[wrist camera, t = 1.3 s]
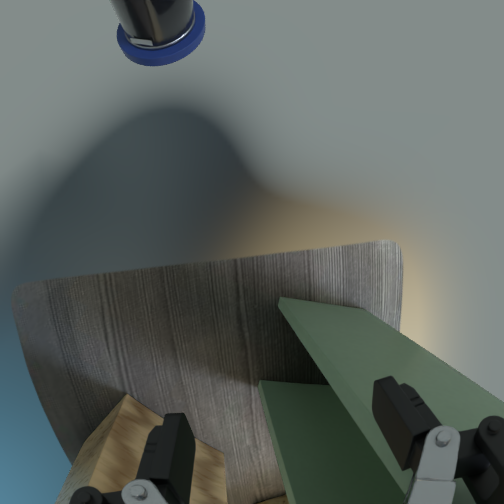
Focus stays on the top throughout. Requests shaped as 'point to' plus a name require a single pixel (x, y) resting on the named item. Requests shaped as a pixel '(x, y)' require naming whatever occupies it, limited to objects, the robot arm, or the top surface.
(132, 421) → the block
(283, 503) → the rock
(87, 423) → the top surface
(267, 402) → the tall green cabinet
